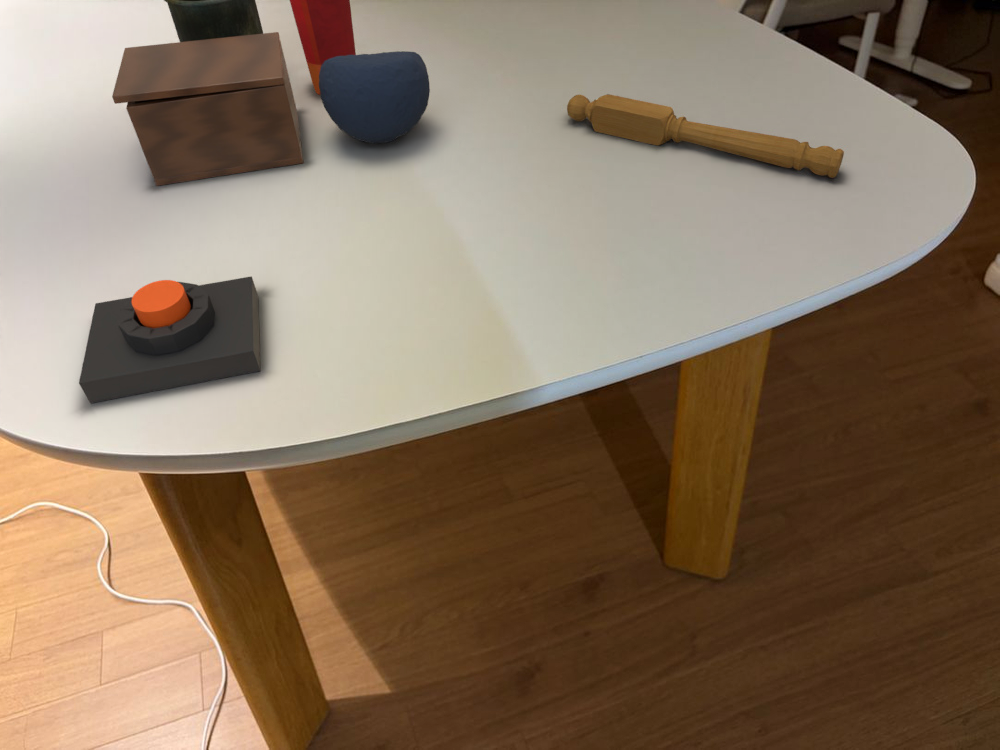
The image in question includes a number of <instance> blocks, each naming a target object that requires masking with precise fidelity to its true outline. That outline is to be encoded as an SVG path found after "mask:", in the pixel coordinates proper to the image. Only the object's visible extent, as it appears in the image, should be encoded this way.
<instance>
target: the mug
mask: <svg viewBox="0 0 1000 750" xmlns="http://www.w3.org/2000/svg"><path fill="white" fill-rule="evenodd" d="M163 1H164V2H166V3H167V6H168V9H169V12H170V15H171V16H170V17H171V19H172V22H173V24H174V29H175V32H176V34H177V38H178V42H187V41H196V40H206V39H216V38H225V37H235V36H244V35H254V34H264V31H263V26H262V22H261V18H260V14H259V10H258V5H257V2H256V0H163Z"/></svg>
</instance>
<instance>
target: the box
mask: <svg viewBox="0 0 1000 750" xmlns="http://www.w3.org/2000/svg"><path fill="white" fill-rule="evenodd" d="M280 45H281V55H282V65H283V74H284V84H283V85H275V86H266V87H257V88H248V89H239V90H231V91H222V92H213V93H204V94H196V95H187V96H178V97H169V98H161V99H152V100H143V101H134V102H126V107H125V108H126V111H127V114H128V116H129V119H130V122H131V124H132V126H133V130H134V132H135V134H136V137H137V139H138V142H139V144H140V147H141V150H142V152H143V155H144V157H145V160H146V162H147V165H148V168H149V170H150V172H151V176H152V178H153V180H154V183H155V185H156V187H159V186H166V185H172V184H178V183H185V182H190V181H198V180H203V179H204V180H205V179H210V178H217V177H223V176H229V175H236V174H242V173H249V172H255V171H261V170H268V169H273V168H280V167H286V166H287V167H288V166H293V165H301V164H304V158H303V157H304V156H303V149H302V142H301V141H302V140H301V132H300V124H299V117H298V116H299V114H298V110H297V106H296V101H295V96H294V93H293V88H292V84H291V79H290V75H289V72H288V67H287V63H286V58H285V54H284V51H283V50H284V49H283V45H282V41H281V40H280Z"/></svg>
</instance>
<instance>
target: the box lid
mask: <svg viewBox="0 0 1000 750" xmlns="http://www.w3.org/2000/svg"><path fill="white" fill-rule="evenodd" d="M280 41H281V36H280V33H279V31H274V32H263V34H254V35H244V36H235V37H225V38H216V39H206V40H196V41H187V42H180V41H177V42H169V43H160V44H150V45H149V44H148V45H140V46H139V45H138V46H130V47H129V46H128V47H125V48H124V50H123V54H122V57H121V61H120V65H119V68H118V73H117V75H116V76H117V77H116V80H115V84H114V87H113V88H114V89H113V92H112V94H111V97H112V101H113V103H114V104H124V103H126V104H127V103H128V102H134V101H143V100H152V99H161V98H169V97H178V96H187V95H196V94H204V93H213V92H222V91H231V90H239V89H248V88H257V87H266V86H275V85H283V84H284V74H283V65H282V55H281V45H282V44H281V45H280Z"/></svg>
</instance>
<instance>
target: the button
mask: <svg viewBox="0 0 1000 750" xmlns="http://www.w3.org/2000/svg"><path fill="white" fill-rule="evenodd" d="M179 282H180V281H176V280H171V279H163V280H161V279H160V280H156V281H152V282H150V283H147V284H145V285H143V286H142V287H140V288H139V289H138V290H137V291H135V293H134V294H133V296H131V297H132V306H133V308H134V310H135V312H136V314H137V316H138V319H139V321H140V323H141V324H142V325H144V326H145V327H149V328H159V327H164V326H170V325H172V324H174V323H176V322H177V321H179V320H181V319H183V318H185V317H186V316H187V314H188V313H189V312H190V309H191V305H190V302H189V300H188V297H187V295H186V292H185V290H184V287H183V286H182V285H181V284H180V283H179Z"/></svg>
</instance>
